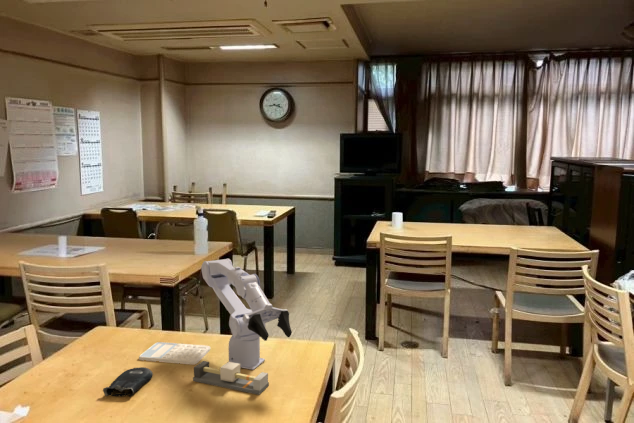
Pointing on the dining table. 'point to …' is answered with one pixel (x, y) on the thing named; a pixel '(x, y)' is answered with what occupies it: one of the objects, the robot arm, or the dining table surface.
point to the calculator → (175, 353)
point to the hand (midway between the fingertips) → (278, 336)
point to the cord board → (241, 383)
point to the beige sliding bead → (229, 371)
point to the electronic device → (129, 381)
